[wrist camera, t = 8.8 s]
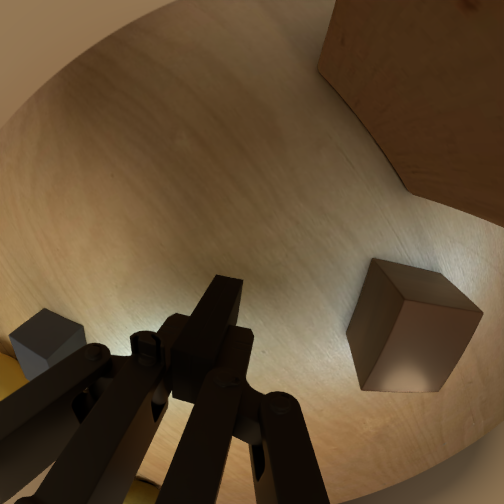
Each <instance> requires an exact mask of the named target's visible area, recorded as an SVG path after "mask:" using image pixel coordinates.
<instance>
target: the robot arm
mask: <svg viewBox="0 0 504 504" xmlns="http://www.w3.org/2000/svg"><path fill="white" fill-rule="evenodd" d="M242 286H243V280H242V279H237V278H231V277H226V276H221V275H216V276H215V277H214V279H213V280H212V282H211V283H210V285H209V287H208V288H207V290H206V291H205V293H204V295H203V296H202V298H201V299H200V301H199V303H198V304H197V306H196V307H195V309H194V311H193V312H192V314H191V316H187V315H183V314H179V313H175V314H173V315H171V316H169V317H168V318H167V319H166V320H165V322H164V323H163V325H162V326H161V327H160V329H159V330H158V331H157V333H156V332H153V331H139V332H136V333H134V334H132V335H131V336H130V343H131V351H132V354H131V356H117V355H111V353H110V350H109V349H108V348H107V347H106V346H105V345H103V344H100V343H90V344H87V345H85V346H83V347H81V348H80V349H78V350H77V351H75V352H73V353H72V354H70V355H69V356H67V357H66V358H64V359H63V360H61V361H60V362H58V363H57V364H55V365H54V366H52V367H51V368H49V369H48V370H46V371H45V372H43V373H42V374H40V375H39V376H37V377H36V378H34V379H33V380H31V381H30V382H28V383H27V384H25V385H24V386H22V387H21V388H19V389H18V390H16V391H15V392H13V393H12V394H10V395H9V396H7V397H6V398H4V399H3V400H1V401H0V504H3V503H4V502H6V501H7V500H9V499H10V498H11V497H13V496H14V495H15V494H16V493H17V492H19V491H20V490H21V489H22V488H23V487H25V486H26V485H27V484H28V483H30V482H31V481H32V480H33V479H34V478H36V477H37V476H38V475H39V474H40V473H42V472H43V471H44V470H45V469H46V468H47V467H48V466H50V465H51V464H52V463H53V462H54V461H56V462H55V463H54V465H53V466H52V468H51V469H50V471H49V472H48V474H47V475H46V477H45V479H44V480H43V482H42V483H41V485H40V486H39V488H38V489H37V491H36V492H35V494H34V495H32V496H29V497H22V498H20V499H18V500H17V501H16V502H15V503H14V504H123V502H124V499H125V497H126V495H127V493H128V491H129V489H130V486H131V484H132V482H133V480H134V478H135V476H136V474H137V471H138V469H139V467H140V465H141V463H142V461H143V459H144V456H145V454H146V452H147V450H148V448H149V446H150V444H151V442H152V439H153V437H154V435H155V433H156V431H157V429H158V427H159V425H160V423H161V420H162V418H163V416H164V414H165V412H166V410H167V408H168V397H169V395H170V393H171V391H172V398H175V399H179V400H182V401H186V402H189V403H193V404H194V407H193V409H192V412H191V414H190V417H189V419H188V422H187V424H186V427H185V429H184V432H183V434H182V437H181V439H180V442H179V444H178V447H177V449H176V452H175V454H174V457H173V459H172V462H171V464H170V467H169V469H168V472H167V474H166V477H165V479H164V482H163V484H162V487H161V489H160V492H159V494H158V497H157V499H156V502H155V504H216V500H217V496H218V492H219V488H220V484H221V480H222V476H223V472H224V468H225V464H226V460H227V456H228V452H229V448H230V444H231V440H232V436H234V437H236V438H238V439H240V440H242V441H244V442H246V443H248V444H249V452H250V460H251V467H252V475H253V482H254V489H255V496H256V503H257V504H330V502H329V498H328V495H327V492H326V489H325V485H324V482H323V479H322V476H321V472H320V469H319V466H318V463H317V459H316V456H315V453H314V450H313V446H312V443H311V440H310V437H309V433H308V430H307V427H306V424H305V420H304V417H303V414H302V411H301V407H300V404H299V403H298V401H297V399H296V398H294V397H293V396H292V395H290V394H288V393H285V392H279V391H275V392H270V393H268V394H266V395H264V394H262V393H260V392H258V391H256V390H254V389H253V388H252V387H251V386H250V385H249V384H248V382H247V380H246V374H247V369H248V365H249V360H250V355H251V350H252V345H253V340H254V335H253V332H252V330H251V329H249V328H244V327H239V326H236V324H237V319H238V312H239V306H240V299H241V293H242ZM86 388H87V389H86Z"/></svg>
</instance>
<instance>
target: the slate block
mask: <svg viewBox="0 0 504 504" xmlns="http://www.w3.org/2000/svg"><path fill="white" fill-rule="evenodd" d="M9 338H10V341H11V343H12V346H13V349H14V351H15V354H16V357H17V359H18V361H19V364H20V366H21V369H22V371H23V373H24V375H25V378H26V379H27V380H28V381H31V380H33V379H34V378H36V377H37V376H39V375H40V374H42V373H43V372H45V371H46V370H48V369H49V368H51V367H52V366H54V365H55V364H57V363H58V362H60V361H61V360H63V359H64V358H66V357H67V356H69V355H70V354H72V353H73V352H75V351H77V350H78V349H80V348H81V347H83V346H85V345H87V344H86V340H85V335H84V330H83V326H82V325H79V324H77V323H75V322H73V321H70V320H68V319H66V318H64V317H62V316H59V315H57V314H55V313H53V312H51V311H49V310H47V309H45V308H44V309H42V310H41V311H40V312H38V313H37V314H35V315H34V316H33V317H31V318H30V319H29V320H27V321H26V322H25V323H23V324H22V325H21V326H19V327H18V328H17V329H16V330H14V331H13V332H12V333H10V334H9Z"/></svg>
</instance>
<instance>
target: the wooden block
mask: <svg viewBox="0 0 504 504" xmlns="http://www.w3.org/2000/svg"><path fill="white" fill-rule="evenodd" d="M317 68H318V70H319V72H320V73H321V74H322V76H323V77H324V78H325V79H326V80H327V81H328V82H329V83H330V84H331V85H332V87H333V88H334V89H335V90H336V91H337V92H338V93H339V95H340V96H341V97H342V98H343V99H344V100H345V102H346V103H347V104H348V105H349V106H350V108H351V109H352V110H353V111H354V113H355V114H356V115H357V116H358V118H359V119H360V120H361V122H362V123H363V124H364V125H365V127H366V128H367V129H368V131H369V132H370V133H371V135H372V136H373V138H374V139H375V140H376V142H377V143H378V145H379V146H380V147H381V149H382V150H383V152H384V153H385V155H386V156H387V158H388V159H389V161H390V162H391V164H392V165H393V167H394V168H395V170H396V171H397V173H398V175H399V176H400V178H401V179H402V181H403V183H404V184H405V186H406V188H407V189H408V191H409V192H410V193H412V194H413V195H416V196H419V197H422V198H426V199H429V200H432V201H435V202H438V203H441V204H444V205H447V206H449V207H452V208H455V209H458V210H461V211H463V212H466V213H469V214H471V215H474V216H477V217H479V218H482V219H484V220H487V221H489V222H492V223H494V224H496V225H499V226H501V227H503V228H504V0H336V3H335V6H334V10H333V13H332V17H331V20H330V24H329V27H328V31H327V34H326V38H325V41H324V45H323V48H322V52H321V55H320V58H319V62H318V65H317Z"/></svg>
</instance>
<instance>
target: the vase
mask: <svg viewBox="0 0 504 504" xmlns="http://www.w3.org/2000/svg"><path fill="white" fill-rule="evenodd" d="M28 382H30V381H28V380H27V379H26V378H25V375H24V373H23V371H22V369H21V366H20V364H19V361H17V360H16V359H14V358H12V357H10V356H8V355H5V354H3V353H0V401H1V400H3V399H4V398H6V397H7V396H9V395H10V394H12V393H13V392H15V391H16V390H18V389H19V388H21V387H22V386H24V385H25V384H27V383H28Z"/></svg>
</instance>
